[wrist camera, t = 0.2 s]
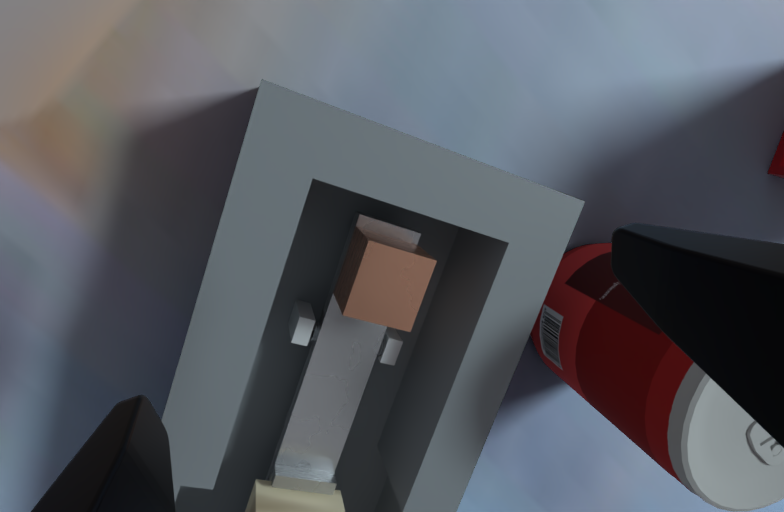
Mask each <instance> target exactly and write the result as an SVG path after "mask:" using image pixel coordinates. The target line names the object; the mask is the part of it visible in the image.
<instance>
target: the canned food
mask: <svg viewBox="0 0 784 512" xmlns="http://www.w3.org/2000/svg"><path fill="white" fill-rule="evenodd" d="M611 246H612V243H599V244H587V245H583V246H580V247H576V248H574V249H572V250H570V251H568V252H566V253H564V254H563V256H562V259H561V261H560V263H559V266H558V268H557V271H556V273H555V275H554V278H553V280H552V283H551V285H550V287H549V290H548V292H547V295H546V297H545V300H544V302H543V304H542V307H541V309H540V312H539V314H538V316H537V319H536V321H535V324H534V326H533V328H532V331H531V333H530V335H531V338H532V340H533V343H534V345H535V348H536V350H537V352H538V354H539V355H540V357H541V358H542V360H543V362H544V363H545V364H546V365H547V366H548V367H549V368H550V369H551V370H552V371H553V372H554V373H555V374H557V375H558V376H559V377H560V378H561V379H562V380H563V381H565V382H566V383H567V384H568V385H569V386H570V387H571V388H572V389H574V390H575V391H576V392H577V393H578V394H579V395H580V396H582V397H583V398H584V399H585V400H586V401H587V402H588V403H590V404H591V405H592V406H593V407H594V408H595V409H596V410H598V411H599V412H600V413H601V414H602V415H603V416H604V417H606V418H607V419H608V420H609V421H610V422H611V423H612V424H613V425H615V426H616V427H617V428H618V429H619V430H620V431H621V432H623V433H624V434H625V435H626V436H627V437H628V438H629V439H631V440H632V441H633V442H634V443H635V444H636V445H637V446H639V447H640V448H641V449H642V450H643V451H644V452H645V453H646V454H648V455H649V456H650V457H651V458H652V459H653V460H654V461H656V462H657V463H658V464H659V465H660V466H661V467H662V468H664V469H665V470H666V471H667V472H668V473H669V474H671V475H672V476H673V477H675V478H676V479H677V480H678V481H679V482H680V483H682V484H683V485H684V486H685V487H686V488H687V489H689V490H690V491H691V492H692V493H694V494H696V495H698V496H699V497H700V498H702V499H703V500H704V501H705V502H707V503H709V504H711V505H713V506H714V507H716V508H719V509H723V510H728V511H750V510H755V509H759V508H764V507H766V506H768V505H771V504H773V503H776V502H778V501H780V500H782V499H783V498H784V448H783V447H782V446H781V445H780V444H779V443H778V442H777V441H776V440H775V439H774V438H773V437H771V436H770V435H769V434H768V433H767V432H766V431H765V430H764V429H763V428H762V427H761V426H760V425H759V424H758V423H757V422H756V421H755V420H754V419H753V418H752V417H751V416H750V415H749V414H748V413H746V412H745V411H744V410H743V409H742V408H741V407H740V406H739V405H738V404H737V403H736V402H735V401H734V400H733V399H732V398H731V397H730V396H729V395H728V394H727V393H726V392H725V391H724V390H723V389H721V388H720V387H719V386H718V385H717V384H716V383H715V382H714V381H713V380H712V379H711V378H710V377H709V376H708V375H707V374H706V373H705V372H704V371H703V370H702V369H701V368H700V367H699V366H697V365H696V364H695V363H694V362H693V361H692V360H691V359H690V358H689V357H688V356H687V355H686V354H685V353H684V352H683V351H682V350H681V349H680V348H679V347H678V346H677V345H676V344H675V343H674V342H672V341H671V340H670V339H669V338H668V337H667V336H666V335H665V334H664V332H663V331H662V330H661V329H660V328H659V327H658V326H657V325H656V324H655V323H654V321H653V320H652V319H651V318H650V317H649V316H648V314H647V313H646V312H645V311H644V310H643V309H642V307H641V306H640V305H639V304H638V303H637V301H636V300H635V299H634V298H633V297H632V296H631V294H630V293H629V292H628V291H627V290H626V289H625V287H624V286H623V285H622V284H621V283H620V281H619V280H618V279H617V278H616V277H615V275H614V273H613V271H612V268H611Z"/></svg>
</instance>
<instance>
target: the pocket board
mask: <svg viewBox="0 0 784 512" xmlns="http://www.w3.org/2000/svg"><path fill="white" fill-rule="evenodd" d="M584 203H585V201H582V200H580V199H577V198H574V197H572V196H569V195H567V194H564V193H561V192H559V191H556V190H553V189H551V188H548V187H545V186H543V185H540V184H537V183H535V182H532V181H530V180H527V179H524V178H522V177H519V176H516V175H514V174H511V173H508V172H506V171H503V170H501V169H498V168H495V167H493V166H490V165H487V164H485V163H482V162H479V161H477V160H474V159H471V158H469V157H466V156H464V155H461V154H458V153H456V152H453V151H450V150H448V149H445V148H442V147H440V146H437V145H434V144H432V143H429V142H427V141H424V140H421V139H419V138H416V137H413V136H411V135H408V134H405V133H403V132H400V131H398V130H395V129H392V128H390V127H387V126H384V125H382V124H379V123H376V122H374V121H371V120H368V119H366V118H363V117H361V116H358V115H355V114H353V113H350V112H347V111H345V110H342V109H339V108H337V107H334V106H331V105H329V104H326V103H324V102H321V101H318V100H316V99H313V98H310V97H308V96H305V95H302V94H300V93H297V92H295V91H292V90H289V89H287V88H284V87H281V86H279V85H276V84H273V83H271V82H268V81H265V80H263V79H261V83H260V86H259V90H258V93H257V96H256V100H255V103H254V107H253V110H252V113H251V117H250V120H249V124H248V127H247V130H246V134H245V137H244V141H243V144H242V148H241V151H240V154H239V158H238V161H237V165H236V168H235V171H234V175H233V178H232V182H231V185H230V188H229V192H228V195H227V199H226V202H225V206H224V209H223V212H222V216H221V219H220V223H219V226H218V229H217V233H216V236H215V240H214V243H213V246H212V250H211V253H210V257H209V260H208V264H207V267H206V270H205V274H204V277H203V281H202V284H201V287H200V291H199V294H198V298H197V301H196V304H195V308H194V311H193V315H192V318H191V322H190V325H189V328H188V332H187V335H186V339H185V342H184V345H183V349H182V352H181V356H180V359H179V362H178V366H177V369H176V373H175V376H174V380H173V383H172V386H171V390H170V393H169V397H168V400H167V403H166V407H165V410H164V414H163V417H162V420H161V421H162V423H163V425H164V426H165V428H166V431H167V434H168V438H169V446H170V456H171V467H172V478H173V488H174V499H175V509H176V512H245V510H246V507H247V504H248V501H249V498H250V495H251V492H252V489H253V486H254V483H255V480H256V479H259V480H265V479H266V476H267V473H268V470H269V467H270V464H271V461H272V458H273V455H274V452H275V449H276V446H277V443H278V440H279V438H280V435H281V432H282V429H283V426H284V423H285V420H286V417H287V414H288V411H289V408H290V405H291V402H292V399H293V396H294V393H295V390H296V387H297V384H298V381H299V378H300V376H301V373H302V370H303V367H304V364H305V361H306V358H307V355H308V352H309V349H310V346H311V343H312V341H311V340H310V336H311V333H312V330H313V327H314V324H315V322H316V323H318V322H319V319H320V316H321V314H322V311H323V308H324V305H325V302H326V299H327V296H328V293H329V290H330V287H331V284H332V281H333V278H334V275H335V272H336V269H337V266H338V263H339V260H340V257H341V254H342V252H343V249H344V246H345V243H346V240H347V237H348V234H349V231H350V228H351V225H352V222H353V219H354V216H355V213H356V211H358V212H361V213H364V214H368V215H371V216H374V217H377V218H380V219H383V220H386V221H390V222H393V223H396V224H399V225H402V226H405V227H409V228H412V229H415V230H417V231H418V232H419V233H421V235H420V238H419V241H418V244H417V245H418V246H419V247H421V248H422V249H423V250H424V251H426V252H427V253H428V254H429V255H430V256H432V257H433V258H434V259H435V260H437V262H436V265H435V267H434V270H433V273H432V276H431V278H430V281H429V284H428V286H427V289H426V292H425V294H424V297H423V300H422V302H421V305H420V308H419V310H418V313H417V316H416V318H415V321H414V324H413V327H412V329H411V332H408V331H403V330H399V329H395V328H391V327H387V329H386V332H385V334H384V337H383V339H384V349H383V352H382V354H381V355H380V356H376V359H375V362H374V365H373V367H372V370H371V373H370V376H369V378H368V381H367V384H366V387H365V389H364V392H363V395H362V398H361V400H360V403H359V406H358V409H357V411H356V414H355V417H354V420H353V422H352V425H351V428H350V431H349V433H348V436H347V439H346V442H345V444H344V447H343V450H342V453H341V455H340V458H339V461H338V464H337V466H336V469H335V472H334V473H335V477H336V482H337V485H336V488H335V490H340V491H341V495H342V499H343V504H344V508H345V512H456V511H457V509H458V506H459V504H460V502H461V499H462V497H463V494H464V492H465V490H466V487H467V485H468V482H469V480H470V478H471V475H472V473H473V470H474V468H475V466H476V463H477V461H478V458H479V456H480V454H481V451H482V449H483V446H484V444H485V441H486V439H487V437H488V434H489V432H490V429H491V427H492V425H493V422H494V420H495V417H496V415H497V413H498V410H499V408H500V405H501V403H502V401H503V398H504V396H505V393H506V391H507V389H508V386H509V384H510V381H511V379H512V377H513V374H514V372H515V369H516V367H517V364H518V362H519V360H520V357H521V355H522V352H523V350H524V348H525V345H526V343H527V340H528V338H529V336H530V333H531V331H532V328H533V326H534V324H535V321H536V319H537V316H538V314H539V312H540V309H541V307H542V304H543V302H544V300H545V297H546V295H547V292H548V290H549V287H550V285H551V283H552V280H553V278H554V275H555V273H556V271H557V268H558V266H559V263H560V261H561V259H562V256H563V254H564V251H565V249H566V247H567V244H568V242H569V239H570V237H571V235H572V232H573V230H574V227H575V225H576V222H577V220H578V218H579V215H580V213H581V210H582V208H583V206H584Z"/></svg>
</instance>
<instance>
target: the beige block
mask: <svg viewBox="0 0 784 512" xmlns="http://www.w3.org/2000/svg"><path fill="white" fill-rule="evenodd" d="M245 512H345V508H344V504H343V499H342V495H341V491H340V490H334V493H333V495H328V494H320V493H313V492H305V491H298V490H290V489H282V488H275V487H272V485H271V481H267V480H259V479H256V480H255V483H254V486H253V489H252V492H251V495H250V498H249V501H248V504H247V507H246V510H245Z"/></svg>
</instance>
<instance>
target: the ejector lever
mask: <svg viewBox="0 0 784 512" xmlns="http://www.w3.org/2000/svg"><path fill="white" fill-rule="evenodd" d="M420 235H421V233H419V232H418V231H417V230H415V229H412V228H409V227H405V226H402V225H399V224H396V223H393V222H390V221H386V220H383V219H380V218H377V217H374V216H371V215H368V214H364V213H361V212H358V211H356V213H355V216H354V219H353V222H352V225H351V228H350V231H349V234H348V237H347V240H346V243H345V246H344V249H343V252H342V254H341V257H340V260H339V263H338V266H337V269H336V272H335V275H334V278H333V281H332V284H331V287H330V290H329V293H328V296H327V299H326V302H325V305H324V308H323V311H322V314H321V316H320V319H319V322H318V323H316V322H315V324H314V327H313V330H312V333H311V336H310V340H311V341H312V343H311V346H310V349H309V352H308V355H307V358H306V361H305V364H304V367H303V370H302V373H301V376H300V378H299V381H298V384H297V387H296V390H295V393H294V396H293V399H292V402H291V405H290V408H289V411H288V414H287V417H286V420H285V423H284V426H283V429H282V432H281V435H280V438H279V440H278V443H277V446H276V449H275V452H274V455H273V458H272V461H271V464H270V467H269V470H268V473H267V476H266V479H265V480H267V481H271V485H272V487H275V488H282V489H290V490H298V491H305V492H313V493H320V494H328V495H333V493H334V490H335V488H336V485H337V482H336V477H335V473H334V472H335V469H336V466H337V464H338V461H339V458H340V455H341V453H342V450H343V447H344V444H345V442H346V439H347V436H348V433H349V431H350V428H351V425H352V422H353V420H354V417H355V414H356V411H357V409H358V406H359V403H360V400H361V398H362V395H363V392H364V389H365V387H366V384H367V381H368V378H369V376H370V373H371V370H372V367H373V365H374V362H375V359H376V356H380V355H381V354H382V352H383V349H384V339H383V337H384V334H385V332H386V329H387V327H391V328H395V329H399V330H403V331H408V332H411V329H412V327H413V324H414V321H415V318H416V316H417V313H418V310H419V308H420V305H421V302H422V300H423V297H424V294H425V292H426V289H427V286H428V284H429V281H430V278H431V276H432V273H433V270H434V267H435V265H436V262H437V260H435V259H434V258H433V257H432V256H430V255H429V254H428V253H427V252H426V251H424V250H423V249H422V248H421V247H419V246H418V245H417V244H418V241H419V238H420Z"/></svg>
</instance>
